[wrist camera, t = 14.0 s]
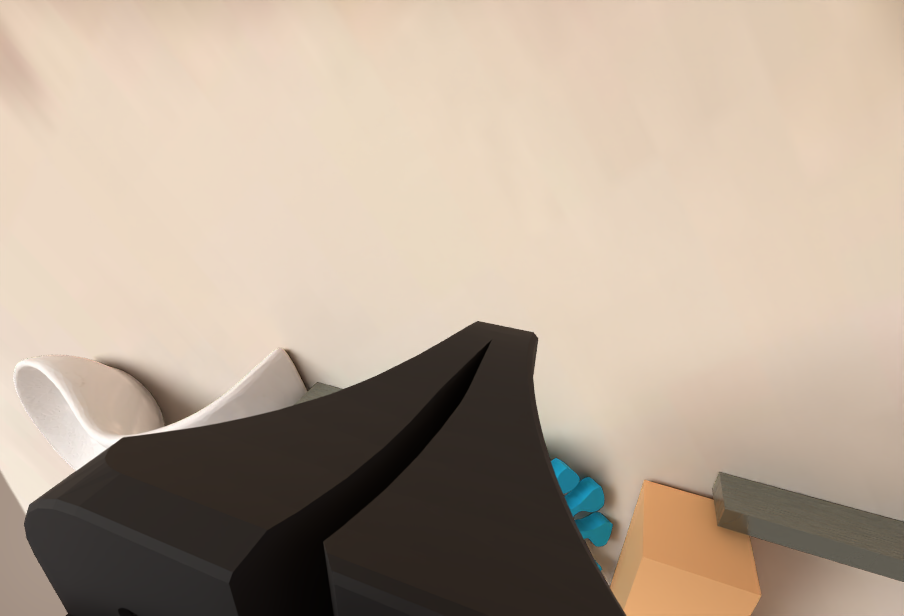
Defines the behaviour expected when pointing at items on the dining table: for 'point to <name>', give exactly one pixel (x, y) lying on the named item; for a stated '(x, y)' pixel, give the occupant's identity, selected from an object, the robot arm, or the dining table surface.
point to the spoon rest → (132, 401)
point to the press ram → (683, 560)
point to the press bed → (793, 520)
